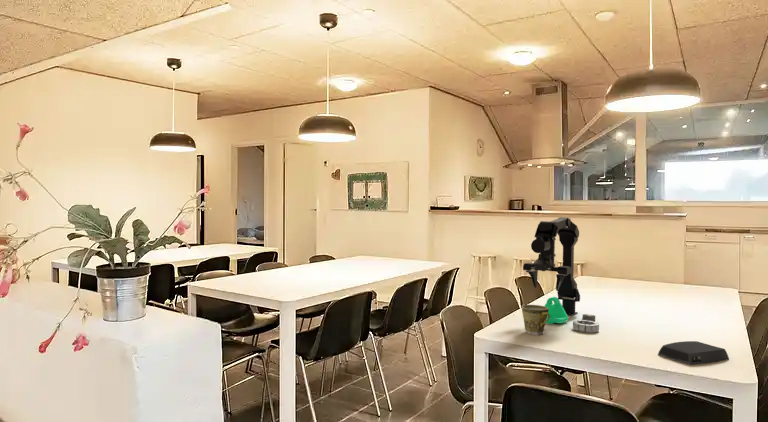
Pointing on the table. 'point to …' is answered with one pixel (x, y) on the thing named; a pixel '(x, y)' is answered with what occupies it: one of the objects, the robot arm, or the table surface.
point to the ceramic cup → (535, 318)
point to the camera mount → (555, 311)
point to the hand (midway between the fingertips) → (546, 289)
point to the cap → (588, 317)
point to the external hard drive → (693, 352)
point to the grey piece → (586, 326)
